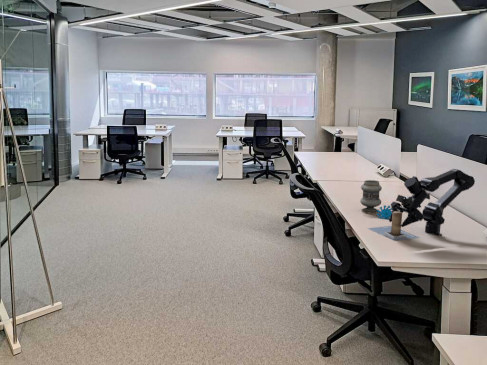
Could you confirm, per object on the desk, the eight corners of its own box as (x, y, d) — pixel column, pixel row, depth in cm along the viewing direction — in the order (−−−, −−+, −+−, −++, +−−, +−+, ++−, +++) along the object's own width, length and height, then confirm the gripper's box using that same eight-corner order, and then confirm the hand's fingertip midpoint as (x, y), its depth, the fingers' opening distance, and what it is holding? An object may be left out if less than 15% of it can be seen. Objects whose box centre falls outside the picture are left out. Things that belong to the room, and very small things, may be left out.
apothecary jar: (355, 209, 292) (357, 179, 289) (373, 208, 296) (375, 179, 293) (366, 213, 281) (368, 183, 278) (384, 212, 285) (386, 182, 281)
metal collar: (397, 233, 238) (397, 231, 238) (407, 238, 231) (407, 235, 231) (383, 235, 236) (384, 232, 235) (393, 239, 228) (393, 236, 228)
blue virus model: (373, 216, 268) (380, 202, 272) (374, 222, 272) (381, 208, 276) (393, 222, 262) (400, 208, 266) (394, 228, 267) (400, 213, 271)
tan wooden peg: (393, 234, 236) (395, 210, 234) (401, 236, 233) (403, 212, 231) (389, 236, 233) (390, 212, 231) (397, 238, 230) (399, 214, 228)
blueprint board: (391, 227, 253) (391, 225, 252) (420, 239, 232) (420, 237, 232) (367, 230, 248) (367, 227, 247) (393, 242, 227) (394, 240, 227)
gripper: (395, 185, 239) (374, 208, 238) (420, 192, 222) (398, 218, 220) (407, 200, 243) (387, 223, 242) (433, 208, 226) (411, 233, 224)
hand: (395, 223), depth 232 cm, fingers open, 9 cm apart
